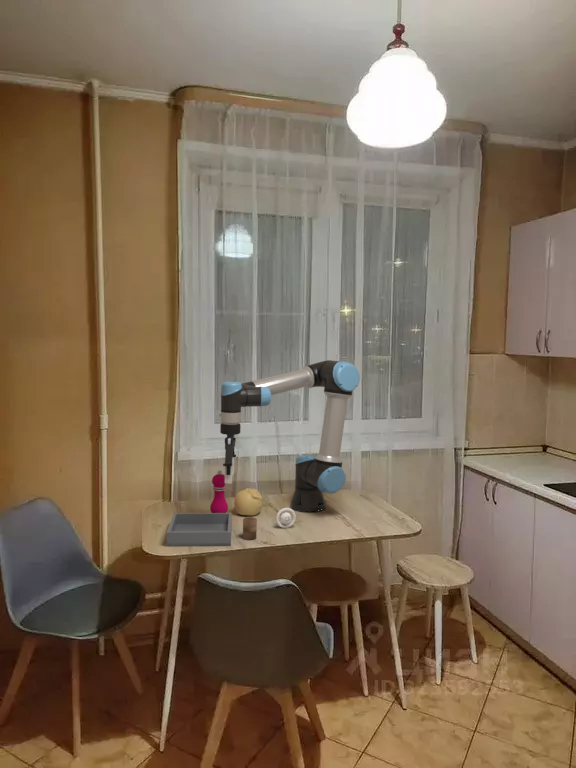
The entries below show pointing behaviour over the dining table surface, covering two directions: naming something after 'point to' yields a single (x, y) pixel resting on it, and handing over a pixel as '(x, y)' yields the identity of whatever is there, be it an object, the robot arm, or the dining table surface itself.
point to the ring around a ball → (285, 517)
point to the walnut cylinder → (249, 528)
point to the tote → (200, 529)
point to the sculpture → (248, 502)
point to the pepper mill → (219, 494)
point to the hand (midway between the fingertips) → (229, 478)
